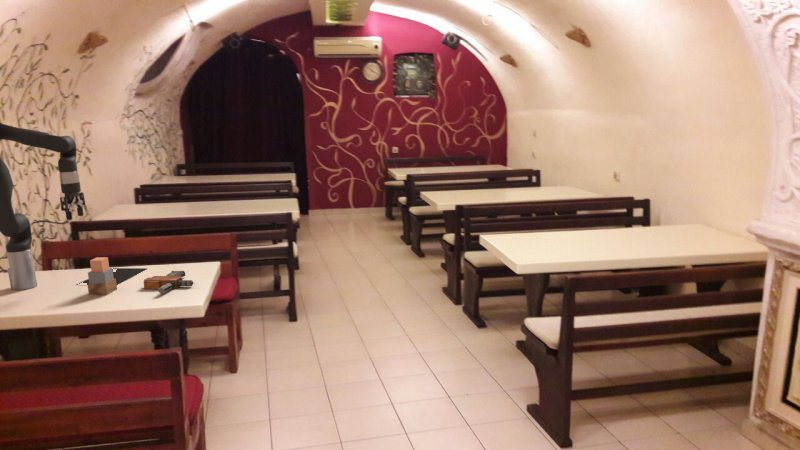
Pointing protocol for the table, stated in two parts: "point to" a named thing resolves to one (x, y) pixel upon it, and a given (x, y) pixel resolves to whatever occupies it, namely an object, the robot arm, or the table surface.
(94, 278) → the gray middle block
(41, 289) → the table surface
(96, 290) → the walnut base block
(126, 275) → the tablet
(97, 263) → the terracotta block
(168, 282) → the tool
